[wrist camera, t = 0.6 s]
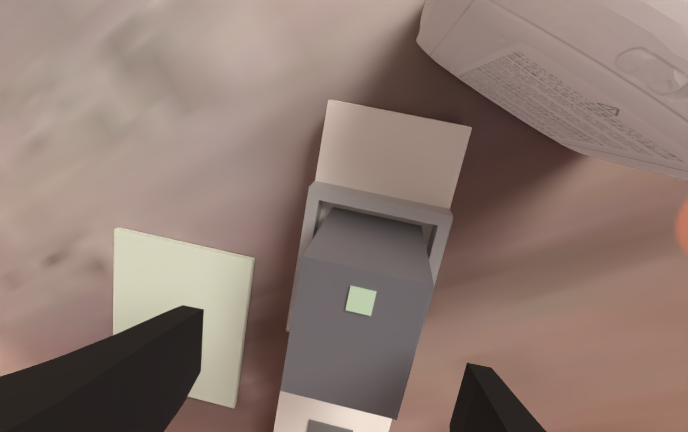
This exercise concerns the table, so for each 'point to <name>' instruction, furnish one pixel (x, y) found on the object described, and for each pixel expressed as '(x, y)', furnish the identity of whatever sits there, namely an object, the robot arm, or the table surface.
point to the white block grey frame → (376, 211)
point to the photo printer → (576, 71)
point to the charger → (358, 312)
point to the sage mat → (187, 300)
